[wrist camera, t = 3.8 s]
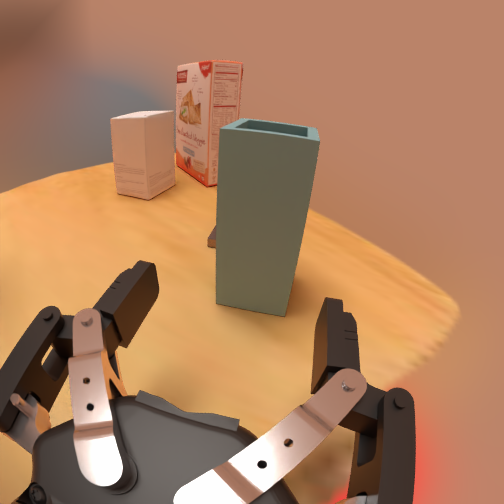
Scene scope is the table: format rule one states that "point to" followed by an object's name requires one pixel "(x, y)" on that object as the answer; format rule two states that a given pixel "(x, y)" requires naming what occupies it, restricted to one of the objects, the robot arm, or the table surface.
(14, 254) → the table surface
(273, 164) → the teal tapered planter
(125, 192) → the supplement box
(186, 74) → the cracker box
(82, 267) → the table surface
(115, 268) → the table surface
